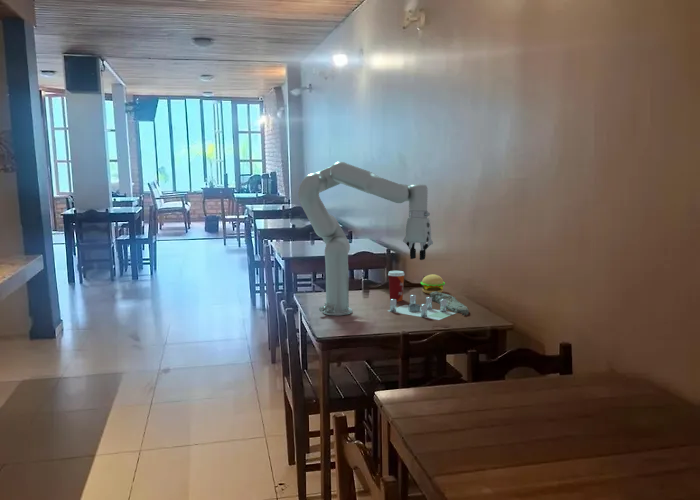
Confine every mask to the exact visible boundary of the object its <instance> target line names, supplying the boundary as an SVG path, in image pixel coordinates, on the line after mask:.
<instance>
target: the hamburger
mask: <svg viewBox="0 0 700 500" xmlns="http://www.w3.org/2000/svg"><path fill="white" fill-rule="evenodd" d="M420 285H421V286H422V292H423V293H424V294H428V295H430V293H432V292H435V291H437V292H441V293H444V292H443V291H444V286H445V285H446V283H445V281H444V280H443V278H442V277H441V276H440V275H438V274H435V273H434V274H433V273H432V274H428V275H425V276H424V277H423V278H422V280H421V281H420Z"/></svg>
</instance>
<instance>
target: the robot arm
mask: <svg viewBox="0 0 700 500" xmlns="http://www.w3.org/2000/svg"><path fill="white" fill-rule="evenodd" d="M340 184H341V185H344V186H348V187H351V188H353V189H356V190H358V191H361V192H363V193H367V194H370V195H374V196H376V197H378V198H381V199H384V200H386V201H390V202H392V203H395V204H402V203H405V202H408V217H407V220H406V226H405V236H404V238H403V240H402V242H403V243H404V244H405V245H406V246H407V247H408V249H409V258H410V260H414V259H416V257H417V250H416V248H415V247H416V243H418V244H419V245H420V249H419V260H420V261H423V260H426V251H427V249H428V248H429V247H430V246H431V245H433V244H434V242H433V239H432V228H431V222H430V220H431V219H430V218H429V217H430V215H431V213H430V212H429V211H428V197H429V196H428V194H429V193H428V190H429V189H428V186H427V185H426V184H420V183H419V184H417V183H416V184H403V183H397V182H395V181H392V180H389V179H386V178H384V177H381V176H379V175H377V173H373V172H372V171H370V170H366V169H365V168H364V169H363V168H360V167H358V166H354V165H352V164H349V163H347V162H345V161H336V162H334V163H333V164H332V165H331V166H328V167H326V168H324V169H321V170H319V171H316V172H311V173H309V174H307V175H305V177H304V178H303V179H302V180H301V182H300V184H299V187H298V193H297V195H298V200H299V203H300V206H301V208H302V209H303V211H304V214H305V215H306V217H307V219H308V221H309V223H310V225H311V226H312V228H313V230H314V231H313V232H314V233H315V234H316V236H318V237H320V238H322V240H323V242H324V244H325V249H324V263H325V303H324V305H323V306H320V307H318V310H319V312H322V314H324V315H326V316H333V317H334V316H336V317H337V316H347V315H351V314H352V313H353V309H352V308H351V307H349V301H350V300H349V295H350V294H349V290H350V289H349V288H350V287H349V253H350V250H351V249H350V248H351V245H350V241H349V240H348V239H349V238H348V237H347V236H346V233H345V232H344V230H343V228H342V226H341V225H340V223H339V221H338V219H337V218H336V217H335V216H333V215H332V214H330V213H329V212H328V210H327V208H326V207H325V204H324V202H323V201H322V200H321V197H320V193H322V192H324V191H326V190H329V189H331V188H334V187H337V186H339V185H340Z"/></svg>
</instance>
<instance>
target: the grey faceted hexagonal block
mask: <svg viewBox="0 0 700 500" xmlns="http://www.w3.org/2000/svg"><path fill="white" fill-rule="evenodd" d="M407 305H408V310H409V311H410V312H419V311H420V307H421V304H419V303H416V304H410V303H409V304H407Z"/></svg>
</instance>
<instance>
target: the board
mask: <svg viewBox="0 0 700 500" xmlns="http://www.w3.org/2000/svg"><path fill="white" fill-rule="evenodd" d="M408 305H409V304H404V305H400V306H396V312H395V313H396V314H402V315H409V316H412V317H419V318H422V317H421V306H420V311H419V312H410V311H409V310H408ZM387 312H390V309H387ZM455 314H456V313H455V312H453V311H447V310H446V312H440V309H435V308H432V310H427V317H423V318H425V319H431V320H436V321H440V320H443V319H445V318H448V317H451V316H453V315H455Z"/></svg>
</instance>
